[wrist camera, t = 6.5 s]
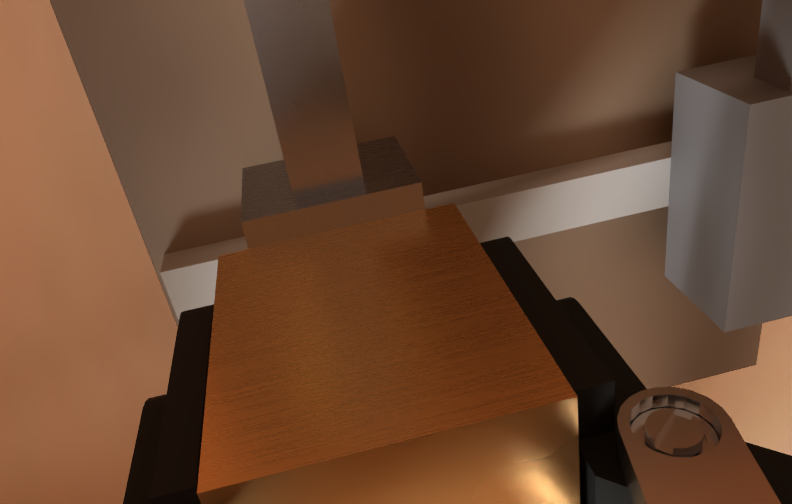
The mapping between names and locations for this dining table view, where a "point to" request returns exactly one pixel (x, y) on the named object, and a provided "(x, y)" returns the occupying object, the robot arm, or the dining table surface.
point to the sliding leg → (367, 323)
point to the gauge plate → (494, 146)
